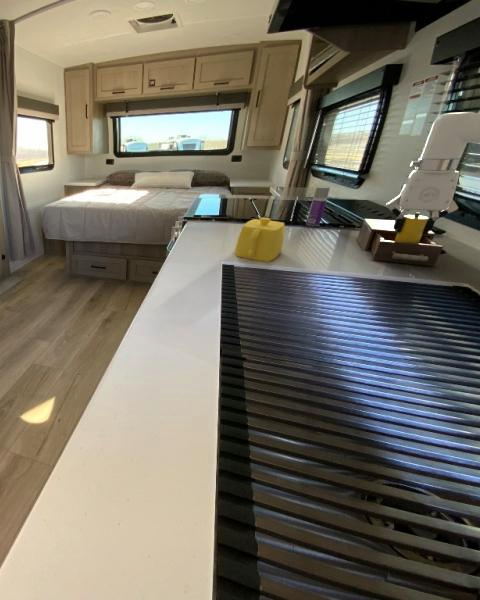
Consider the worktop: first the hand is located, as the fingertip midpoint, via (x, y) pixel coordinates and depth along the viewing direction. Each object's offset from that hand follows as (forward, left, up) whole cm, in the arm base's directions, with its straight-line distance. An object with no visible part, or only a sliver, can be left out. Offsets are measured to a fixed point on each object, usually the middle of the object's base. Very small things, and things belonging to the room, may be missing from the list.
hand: (410, 231), depth 96 cm
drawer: (0, +1, -8) cm, 8 cm away
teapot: (+37, +9, -9) cm, 40 cm away
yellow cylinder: (0, 0, -6) cm, 6 cm away
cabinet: (0, -12, -9) cm, 15 cm away
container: (+20, -37, -9) cm, 43 cm away
